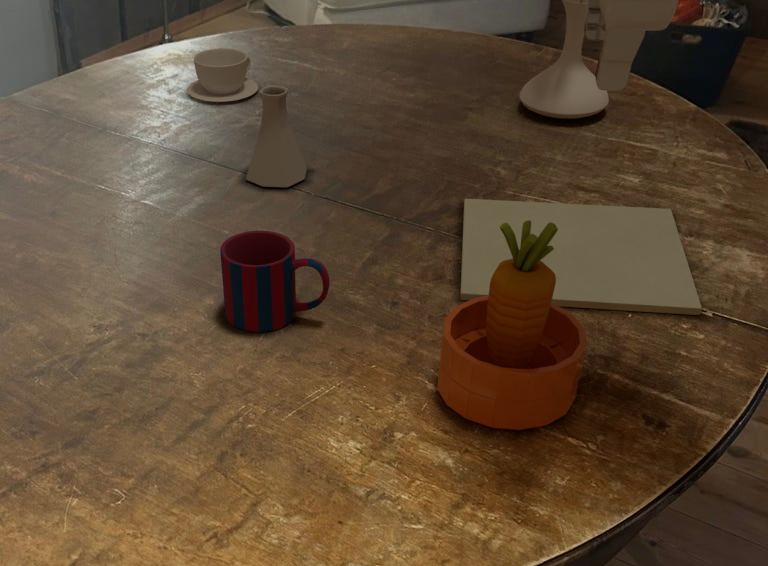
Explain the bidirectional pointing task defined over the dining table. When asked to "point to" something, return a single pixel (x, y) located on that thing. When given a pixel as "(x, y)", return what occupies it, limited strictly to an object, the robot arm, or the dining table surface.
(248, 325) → the cup
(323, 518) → the dining table surface
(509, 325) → the carrot
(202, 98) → the teacup
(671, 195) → the dining table surface
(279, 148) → the flask
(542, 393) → the bowl
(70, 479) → the dining table surface
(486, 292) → the mat
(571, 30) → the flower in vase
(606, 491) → the dining table surface
